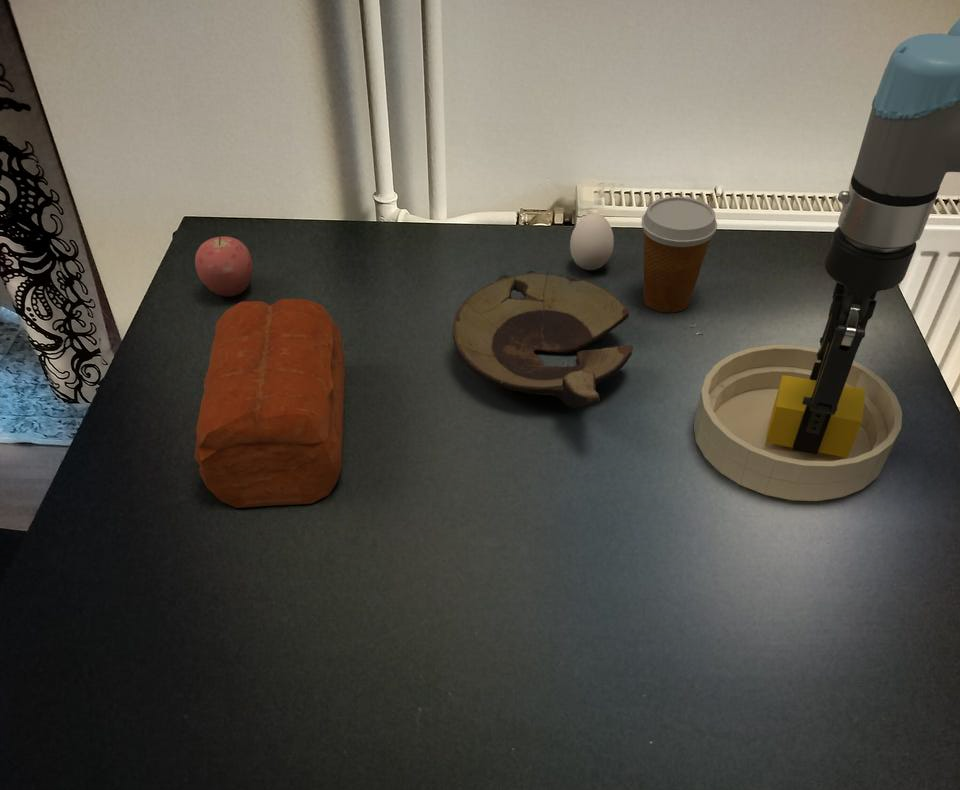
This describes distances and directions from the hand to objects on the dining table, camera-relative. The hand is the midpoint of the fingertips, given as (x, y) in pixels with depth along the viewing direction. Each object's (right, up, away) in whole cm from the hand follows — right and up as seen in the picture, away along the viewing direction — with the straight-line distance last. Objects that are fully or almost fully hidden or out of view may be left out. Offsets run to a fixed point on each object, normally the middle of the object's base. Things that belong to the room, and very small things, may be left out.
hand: (807, 431), depth 101 cm
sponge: (0, 0, 0) cm, 0 cm away
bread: (-61, +1, +4) cm, 61 cm away
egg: (-22, +29, +26) cm, 44 cm away
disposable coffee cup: (-12, +23, +20) cm, 33 cm away
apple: (-72, +25, +23) cm, 79 cm away
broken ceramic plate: (-30, +10, +10) cm, 33 cm away
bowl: (-2, -1, +2) cm, 2 cm away
